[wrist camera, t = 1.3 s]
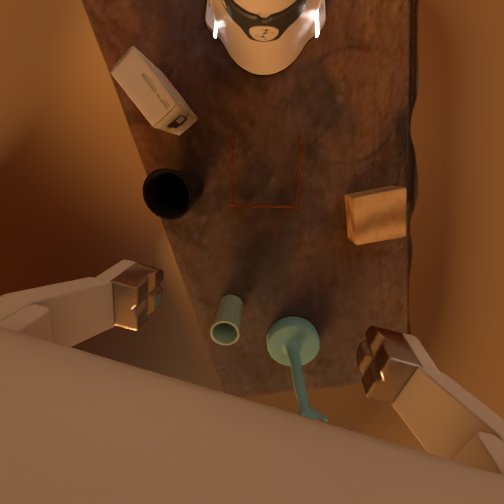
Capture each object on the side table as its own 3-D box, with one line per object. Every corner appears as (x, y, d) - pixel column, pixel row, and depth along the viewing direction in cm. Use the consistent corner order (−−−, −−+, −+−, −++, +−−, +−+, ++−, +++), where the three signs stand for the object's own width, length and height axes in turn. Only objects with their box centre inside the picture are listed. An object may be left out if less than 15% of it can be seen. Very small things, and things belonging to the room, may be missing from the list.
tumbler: (218, 294, 56) (209, 320, 47) (243, 295, 56) (239, 321, 47) (219, 315, 58) (210, 344, 49) (243, 316, 58) (239, 346, 49)
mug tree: (309, 359, 62) (338, 479, 38) (262, 351, 61) (262, 467, 38) (323, 319, 57) (365, 427, 34) (272, 310, 57) (279, 412, 34)
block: (344, 194, 47) (353, 198, 43) (391, 185, 46) (406, 187, 42) (347, 237, 50) (356, 245, 46) (392, 229, 49) (406, 236, 45)
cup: (165, 196, 49) (136, 206, 38) (178, 160, 46) (150, 159, 35) (200, 213, 50) (182, 227, 38) (214, 178, 47) (199, 183, 36)
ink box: (146, 94, 43) (106, 70, 32) (166, 74, 41) (131, 42, 30) (179, 137, 45) (152, 128, 34) (198, 119, 44) (177, 104, 33)
